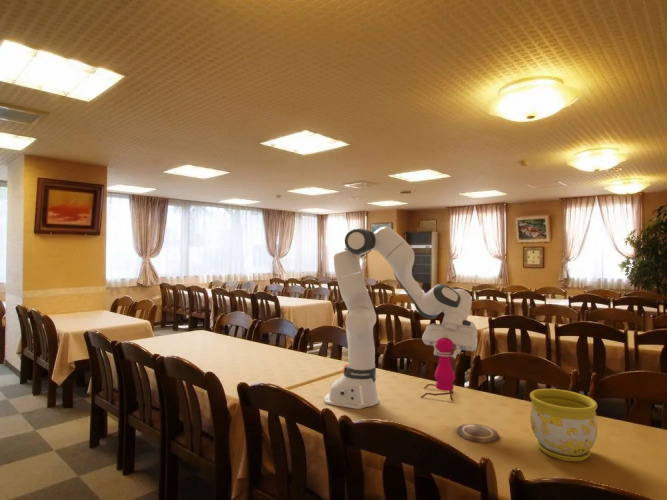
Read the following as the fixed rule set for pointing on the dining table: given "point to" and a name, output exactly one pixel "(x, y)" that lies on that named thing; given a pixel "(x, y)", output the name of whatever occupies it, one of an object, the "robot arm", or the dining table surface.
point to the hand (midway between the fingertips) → (444, 356)
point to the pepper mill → (444, 365)
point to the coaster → (477, 433)
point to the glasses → (438, 393)
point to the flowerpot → (563, 423)
